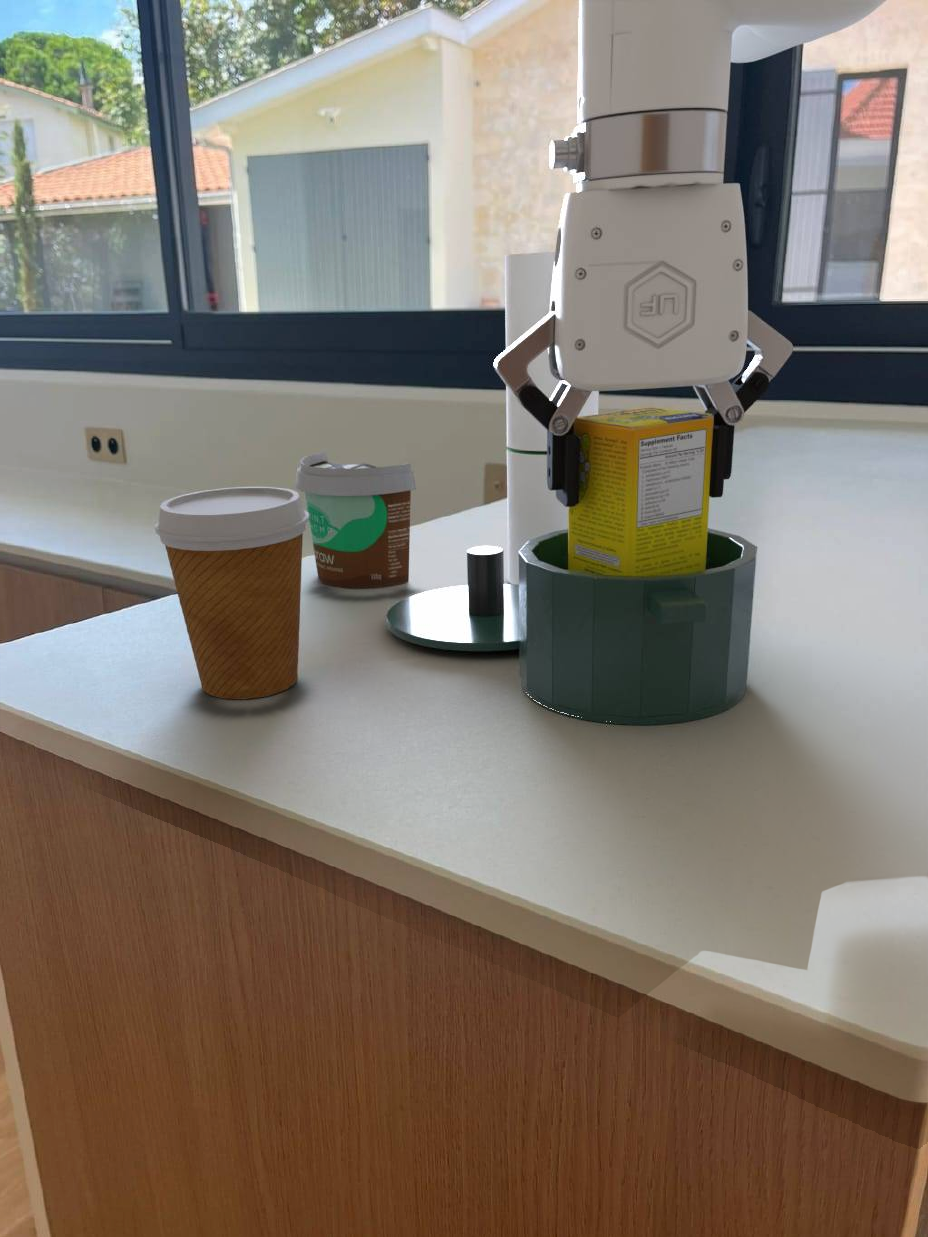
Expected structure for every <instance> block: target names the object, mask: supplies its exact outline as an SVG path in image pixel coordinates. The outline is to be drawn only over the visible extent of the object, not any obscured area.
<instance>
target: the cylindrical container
mask: <svg viewBox="0 0 928 1237" xmlns="http://www.w3.org/2000/svg"><path fill="white" fill-rule="evenodd" d="M554 259H555V251H546V252H545V251H544V252H528V253H527V252H526V253H512V254H511V253H510V254H504V307H505V308H504V312H505V313H504V314H505V316H504V318H505V319H504V320H505V322H504V323H505V324H504V325H505V326H504V327H505V350H506V349H507V348H508V347H510V346H511V345H512V344H513V343H514V342H516V341H517V340H518V339H519V338H520V337H522V336H523V335H524V334H525V333H526V332H528V331H529V330H530V329H531V328H532V327H534V326H535V325H536V324H537V323H538V322H540V321H541V320H542V319H543V318H544V317H546V316H547V315H548V314H549V313H550V302H551V290H552V280H553V269H554ZM527 372H528V374H529V376H530V377H531V379H532V381H533V382H534V383H535V385H536V386H537V388H538V389H540V390H541V391H542V392H543V393H544V394H545V395H546V396H547V397H548V398H549V399H550V398H551V397H552V395H553V393H554V392H555V390H556V388H557V386H558V385H559V383H560V380H558V379H556V378H555V377H554V376H553V375H552V374H551V371H550V367H549V357H548V348H547V349H546V350H545V351H543V352H542V353H541V354H540V355H539V356H537V357H536V358H535V359H534V360H532V361H531V362H530V363H529V365H528V368H527ZM505 398H506V399H505V403H506V404H505V405H506V406H505V408H506V412H505V413H506V414H505V415H506V417H505V418H506V498H507V500H506V502H507V504H506V506H507V507H506V508H507V510H506V511H507V580H508V584H516V585H519V551H520V550H521V548H522V547H523V546H524V545H525V544H526V543H527V542H528V541H529V540H532V539H535V538H537V537H540V536H543V535H546V534H548V533H551V532H555V531H560V530H566V529H568V509H569V508H568V507H565V506H564V505H563V504H562V503H561V502H560V501H559V500H558V499H557V498H556V490H549V489H548V486H547V430H546V429H545V428H544V427H543V426H542V425H541V424H540V423H539V422H538V421H537V420H536V419H535V418H534V417H533V416H532V415H531V414H530V413H529V412H528V411H527V410H526V409H525V408H524V407H523V406H522V405H521V404H520V403H519V402H518V401H517V399H516V397H515V396H514V395H513V393H512V392H511V391H510V390H509V388H508V387H507V385H506V384H505ZM599 399H600V391H592V392H591V394H590V396H589V397H588V399H587V401H586V402H585V404H584V406H583V408H582V409H581V411H580V413H579V414H578V416H577V417H580V416H587V415H595V414H599V404H600V401H599Z"/></svg>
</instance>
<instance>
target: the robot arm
mask: <svg viewBox="0 0 928 1237" xmlns="http://www.w3.org/2000/svg"><path fill="white" fill-rule="evenodd" d="M886 1H887V0H579V1H578V3H579V4H578V9H579V10H578V16H579V17H578V62H577V63H578V64H577V65H578V68H577V70H578V73H577V124H578V126H576V127H574V130H573V133H571V136H566V137H565V138H564V139H557V140H556V139H555V140H551V142H550V145H549V153H548V154H549V156H548V157H549V158H548V159H549V167H550V169H551V170H552V169H554V170H555V169H563V170H564V172H570V175H573V183H576V191H575V192H569V193H566V194H565V195H564V198H563V202H562V208H561V212H560V219H559V224H558V229H557V235H556V236H557V237H556V243H555V249H554V250H555V251H554V252H555V259H554V269H553V280H552V290H551V302H550V313H549V314H548V315H547V316H546V317H544V318H543V319H542V320H541V321H540V322H538V323H537V324H536V325H535V326H534V327H532V328H531V329H530V330H529V331H528V332H526V333H525V334H524V335H523V336H522V337H520V338H519V339H518V340H517V341H516V342H514V343H513V344H512V345H511V346H510V347H508V348H507V349H506V348H505V350H503V352H501V353H500V354H498V356H496V358H495V359H494V362H493V368H494V371H495V372H496V374H498V376H499V377H500V379H501V380H502V381H503V383H504V384H505V386H506V385H507V387H508V388H509V390H510V391H511V392H512V393H513V395H514V396H515V397H516V399H517V401H518V402H519V403H520V404H521V405H522V406H523V407H524V408H525V409H526V410H527V411H528V412H529V413H530V414H531V415H532V416H533V417H534V418H535V419H536V420H537V421H538V422H539V423H540V424H541V425H542V426H543V427H544V428H545V429H546V430H547V486H548V489H549V490H556V498H557V499H558V500H559V501H560V502H561V503H562V504H563V505H564V506H565V507H573V506H575V505H576V504H578V503H579V469H580V438H579V437H578V436H577V435H575V434H574V421H575V420H576V418H577V416H578V414H579V413H580V411H581V409H582V408H583V406H584V404H585V402H586V401H587V399H588V397H589V396H590V394H591V392H592V391H599V392H610V391H611V392H612V391H613V392H614V391H629V390H632V391H633V390H648V389H663V388H664V389H665V388H680V387H692V388H693V390H694V391H695V394H696V396H697V397H698V399H699V401H700V403H701V405H702V406H703V408H704V410H705V411H704V413H709V414H712V415H713V417H714V423H713V440H712V455H711V475H710V494H709V495H710V496H709V498H722V497H723V494H724V484H725V480H729V479H730V478H731V475H732V469H733V458H734V457H733V454H734V441H735V440H734V439H735V426H736V425H738V424H740V423H741V422H742V421H743V419H744V417H745V413H746V412H747V411H748V410H749V409H750V408H751V407H752V406H753V405H754V404H755V403H756V402H757V401H758V400H759V399H760V397H762V396H763V394H764V393H765V392H766V391H767V390H768V389H769V386H770V382H771V381H772V380H773V378H775V377H776V376H777V374H779V371H780V370H781V369H782V368H783V367H784V365H785V363H786V362H787V361H788V359H789V358H790V357H791V355H792V354H793V351H794V346H793V343H792V342H791V341H790V340H789V339H787V338H786V337H785V336H783V334H782V333H780V332H779V331H777V330H776V329H774V328H773V326H770V325H769V324H768V323H767V322H765V321H764V319H762V318H761V317H759V316H758V315H757V314H756V313H754V312H752V311H751V310H749V291H748V290H749V286H748V284H749V282H748V280H749V278H748V255H747V253H748V252H747V238H746V237H747V236H746V223H745V213H744V204H743V197H742V190H741V184H740V183H739V182H731V183H729V182H728V183H724V176H725V175H724V174H725V173H724V172H725V158H726V143H727V142H726V141H727V124H728V111H729V96H730V78H731V63H733V64H734V63H735V64H745V63H752V62H756V61H759V60H763V59H765V58H768V57H771V56H774V55H776V54H779V53H781V52H784V51H787V50H788V49H791V48H794V47H797V46H800V45H803V44H806V43H811V42H813V41H816V40H819V39H821V38H823V37H826V36H829V35H832V34H834V33H837V32H839V31H842V30H844V29H846V28H848V27H851V26H853V25H854V24H857V23H858V22H860V21H862V20H863V19H865V18H866V17H868V16H869V15H871V14H872V13H873V12H874V11H876V10H877V9H878V8H880V7H881V6H882V5H883V4H884V3H885V2H886ZM747 345H748V346H750V347H751V348H752V349H753V351H754V357H753V359H752V361H751V362H750V363H749V366H748V367H747V369H746V370H745V371H743V368H744V365H745V361H746V355H747V348H748V346H747ZM547 348H548V357H549V367H550V371H551V374H552V375H553V376H554V377H555V378H556V379H558V380H560V383H559V385H558V386H557V388H556V390H555V392H554V393H553V395H552V397H551V398H550V399H549V398H548V397H547V396H546V395H545V394H544V393H543V392H542V391H541V390H540V389H538V388H537V386H536V385H535V383H534V382H533V381H532V379H531V377H530V376H529V374H528V372H527V368H528V365H529V363H530V362H531V361H532V360H534V359H535V358H536V357H537V356H539V355H540V354H541V353H542V352H543V351H545V350H546V349H547ZM742 371H743V372H742ZM741 372H742V373H741ZM739 374H740V375H739ZM737 375H739V376H738V377H737V378H735V377H736V376H737ZM733 378H735V380H734V381H733V382H730V381H729V380H731V379H733Z"/></svg>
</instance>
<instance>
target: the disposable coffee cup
mask: <svg viewBox="0 0 928 1237" xmlns="http://www.w3.org/2000/svg"><path fill="white" fill-rule="evenodd" d="M158 516H159V517H158V522H157V523H156V524H155V525H154V531H155V533H156V535H158V536H159V539H160V542H161V543H162V544H163V545H164V547H165V551H166V553H167V558H168V562H169V566H170V570H171V574H172V577H173V580H174V585H175V588H176V593H177V596H178V600H179V604H180V608H181V612H182V615H183V620H184V623H185V626H186V627H185V628H186V632H187V635H188V640H189V642H190V646H191V650H192V654H193V658H194V661H195V665H196V669H197V673H198V677H199V680H200V686H201V689H202V691H203V692H204V693H206V694H208V695H209V696H212V697H215V698H220V699H229V700H248V699H249V700H250V699H256V698H264V697H269V696H271V695H275V694H278V693H281V692H284V691H286V690H289V688H291V687H293V686H294V685H295V684H296V683H297V682H298V676H299V673H298V671H299V647H300V645H299V644H300V626H301V624H300V623H301V621H300V620H301V619H300V618H301V593H302V591H301V590H302V563H303V562H302V561H303V541H304V540H303V537H304V532H305V531H306V529H307V523H309V513H308V512H307V509H304V507H303V502H302V499H301V496H300V494H299V492H298V491H296V490H293V489H289V488H286V487H285V488H284V487H275V486H233V487H224V488H215V489H207V490H200V491H194V492H190V493H189V492H188V493H184V494H181V495H178V496H174V497H171V498H168V499H166V500H164V501H162V503H161V504H160V506H159V515H158Z"/></svg>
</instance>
